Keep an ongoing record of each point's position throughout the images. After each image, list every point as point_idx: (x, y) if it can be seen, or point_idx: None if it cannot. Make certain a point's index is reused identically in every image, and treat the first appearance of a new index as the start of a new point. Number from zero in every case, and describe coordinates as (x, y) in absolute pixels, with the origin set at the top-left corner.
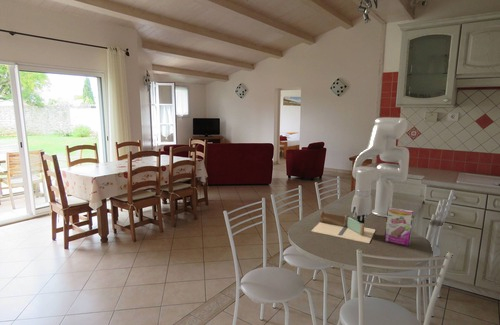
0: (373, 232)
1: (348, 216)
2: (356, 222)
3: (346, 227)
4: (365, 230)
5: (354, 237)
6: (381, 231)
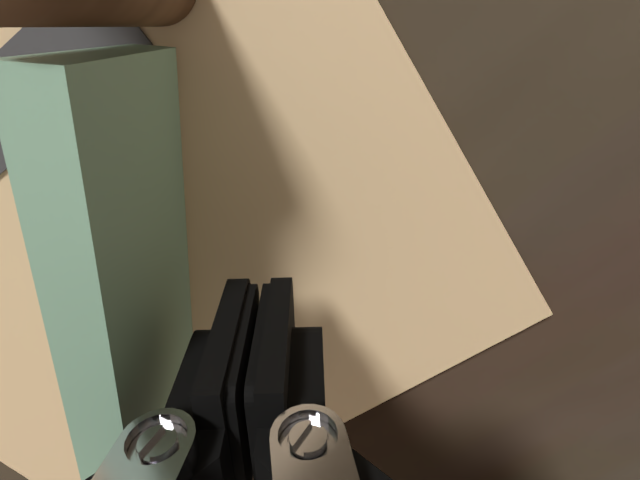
0: (417, 376)
1: (24, 25)
2: (81, 434)
3: (121, 36)
4: (372, 288)
5: (28, 406)
6: (573, 362)
